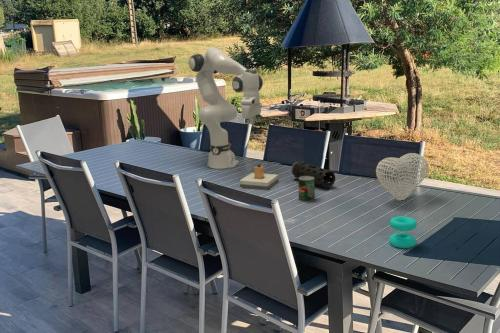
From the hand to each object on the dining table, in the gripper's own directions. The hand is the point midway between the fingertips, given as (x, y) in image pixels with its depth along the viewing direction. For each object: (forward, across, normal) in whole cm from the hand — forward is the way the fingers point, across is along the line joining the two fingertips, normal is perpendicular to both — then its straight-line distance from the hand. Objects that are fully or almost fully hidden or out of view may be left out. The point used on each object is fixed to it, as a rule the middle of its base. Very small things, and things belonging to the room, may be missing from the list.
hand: (252, 124), depth 296 cm
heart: (+31, +21, +85) cm, 93 cm away
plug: (+29, +14, +9) cm, 33 cm away
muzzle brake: (+31, +4, +36) cm, 48 cm away
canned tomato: (+31, +32, +41) cm, 61 cm away
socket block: (+31, +14, +9) cm, 35 cm away
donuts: (+31, +76, +92) cm, 123 cm away
